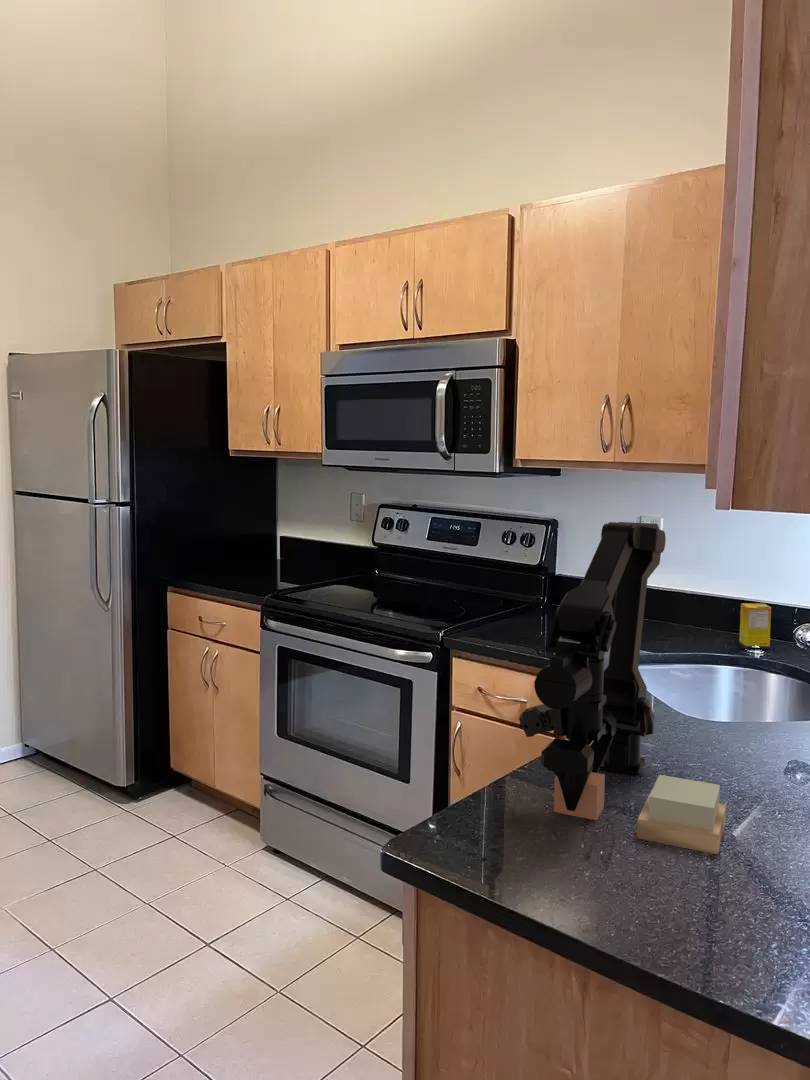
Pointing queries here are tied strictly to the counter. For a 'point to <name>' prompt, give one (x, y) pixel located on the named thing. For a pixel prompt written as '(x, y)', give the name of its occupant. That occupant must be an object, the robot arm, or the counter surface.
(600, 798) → the terracotta brick
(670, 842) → the tower base
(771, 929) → the counter surface
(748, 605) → the supplement box
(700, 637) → the counter surface
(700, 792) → the tower top
